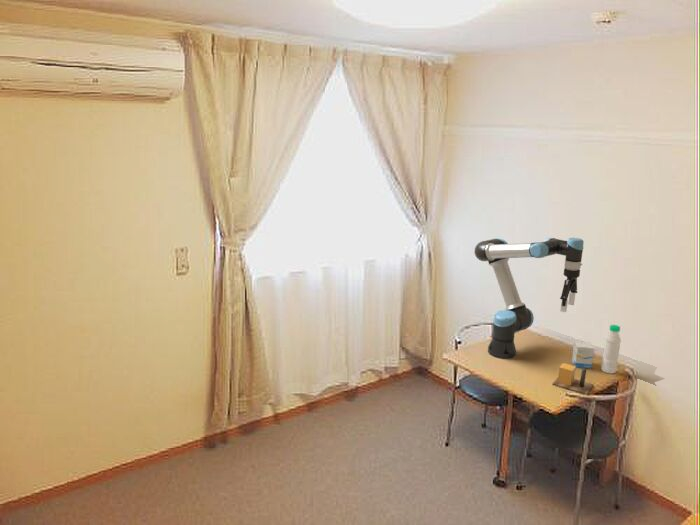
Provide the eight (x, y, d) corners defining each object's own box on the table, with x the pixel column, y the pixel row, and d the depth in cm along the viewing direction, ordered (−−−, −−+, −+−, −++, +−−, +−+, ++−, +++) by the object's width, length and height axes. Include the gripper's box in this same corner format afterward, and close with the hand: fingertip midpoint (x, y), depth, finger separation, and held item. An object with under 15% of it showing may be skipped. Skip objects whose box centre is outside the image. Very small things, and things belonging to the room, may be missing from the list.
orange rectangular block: (557, 382, 256) (559, 367, 254) (561, 377, 260) (563, 363, 258) (570, 385, 252) (572, 370, 250) (573, 381, 257) (575, 366, 255)
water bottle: (609, 375, 265) (616, 329, 259) (597, 369, 271) (604, 324, 265) (618, 372, 268) (626, 327, 262) (606, 366, 274) (613, 322, 268)
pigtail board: (552, 384, 255) (554, 366, 252) (559, 376, 264) (562, 358, 261) (586, 395, 245) (589, 376, 243) (593, 385, 254) (596, 367, 252)
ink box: (591, 369, 272) (594, 348, 269) (574, 367, 274) (577, 346, 271) (588, 361, 280) (590, 341, 277) (571, 360, 282) (574, 340, 279)
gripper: (572, 275, 251) (567, 316, 257) (586, 264, 270) (581, 303, 276) (557, 272, 256) (552, 313, 261) (571, 262, 275) (566, 300, 280)
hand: (567, 308), depth 269 cm, fingers open, 13 cm apart
